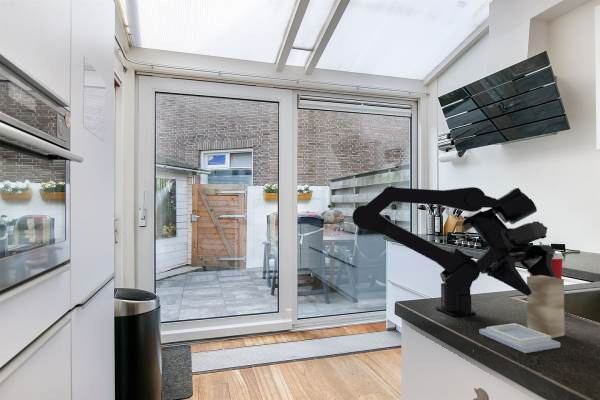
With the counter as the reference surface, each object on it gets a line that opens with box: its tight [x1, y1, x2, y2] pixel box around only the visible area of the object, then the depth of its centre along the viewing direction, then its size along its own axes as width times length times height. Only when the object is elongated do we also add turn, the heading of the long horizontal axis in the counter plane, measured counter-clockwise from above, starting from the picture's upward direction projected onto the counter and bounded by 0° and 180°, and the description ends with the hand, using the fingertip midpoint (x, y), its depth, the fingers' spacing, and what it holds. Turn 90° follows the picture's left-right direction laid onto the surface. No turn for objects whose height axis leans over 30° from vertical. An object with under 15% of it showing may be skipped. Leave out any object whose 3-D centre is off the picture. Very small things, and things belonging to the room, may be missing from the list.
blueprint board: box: [478, 322, 561, 354], centre depth 67 cm, size 10×8×2 cm
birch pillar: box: [526, 275, 565, 339], centre depth 71 cm, size 4×4×11 cm
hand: (544, 292), depth 71 cm, fingers open, 9 cm apart
